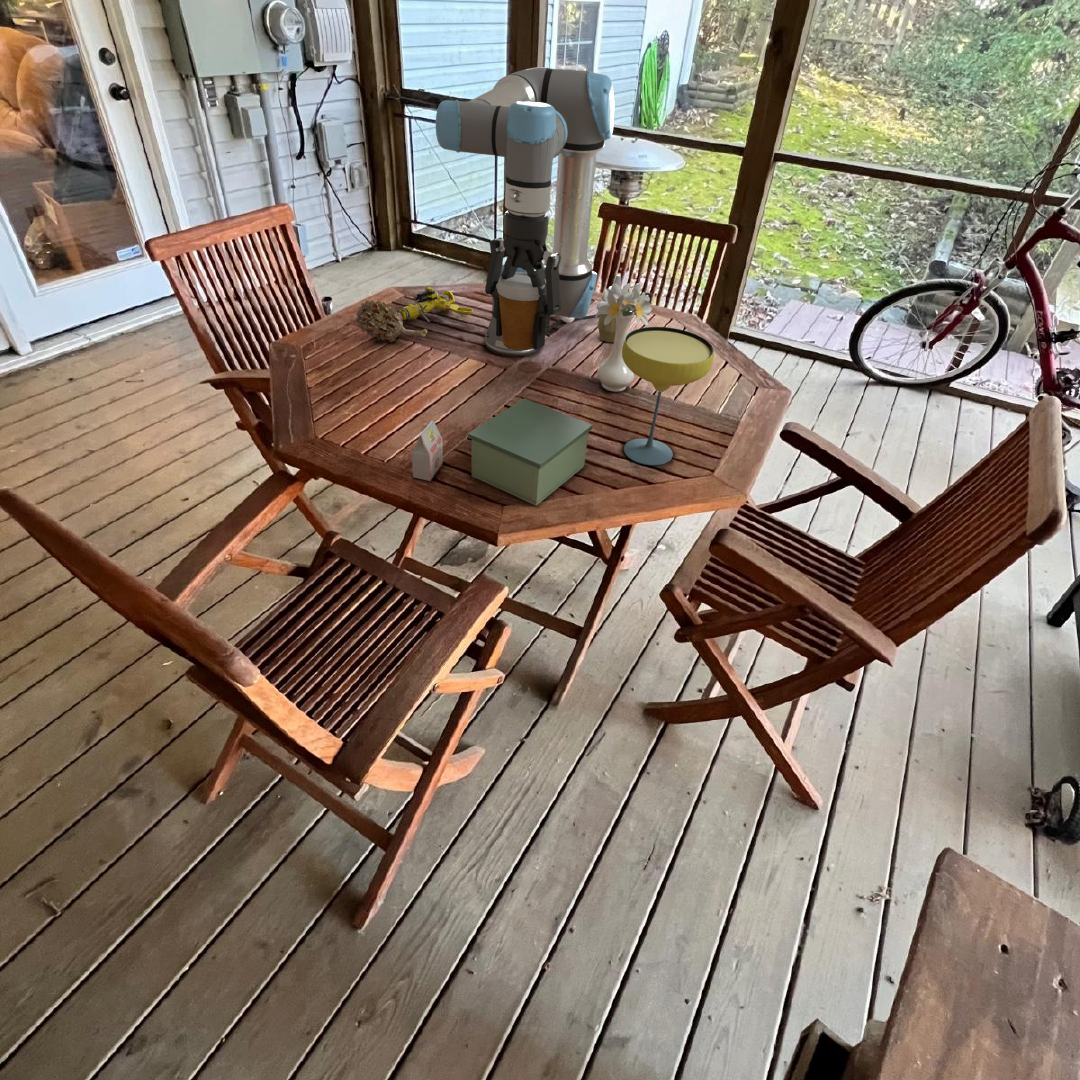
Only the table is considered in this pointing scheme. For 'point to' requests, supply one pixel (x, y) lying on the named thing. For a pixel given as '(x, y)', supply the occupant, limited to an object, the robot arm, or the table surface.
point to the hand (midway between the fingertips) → (520, 340)
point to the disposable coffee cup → (518, 311)
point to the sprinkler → (432, 304)
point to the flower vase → (620, 331)
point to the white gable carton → (427, 453)
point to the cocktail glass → (663, 375)
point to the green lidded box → (529, 450)
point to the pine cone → (382, 321)
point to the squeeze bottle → (609, 330)
